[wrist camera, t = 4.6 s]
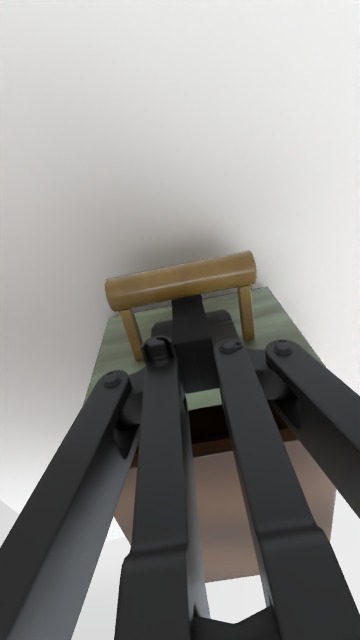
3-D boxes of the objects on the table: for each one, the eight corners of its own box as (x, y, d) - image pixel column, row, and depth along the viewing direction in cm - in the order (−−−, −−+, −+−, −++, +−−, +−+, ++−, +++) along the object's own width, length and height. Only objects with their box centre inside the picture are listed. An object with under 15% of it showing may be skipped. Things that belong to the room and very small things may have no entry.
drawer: (85, 253, 19) (36, 325, 12) (264, 216, 19) (334, 267, 11) (153, 438, 29) (149, 546, 21) (274, 418, 28) (315, 520, 20)
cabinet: (116, 350, 24) (89, 475, 15) (273, 320, 24) (344, 432, 15) (157, 461, 32) (156, 590, 23) (278, 440, 31) (327, 565, 22)
